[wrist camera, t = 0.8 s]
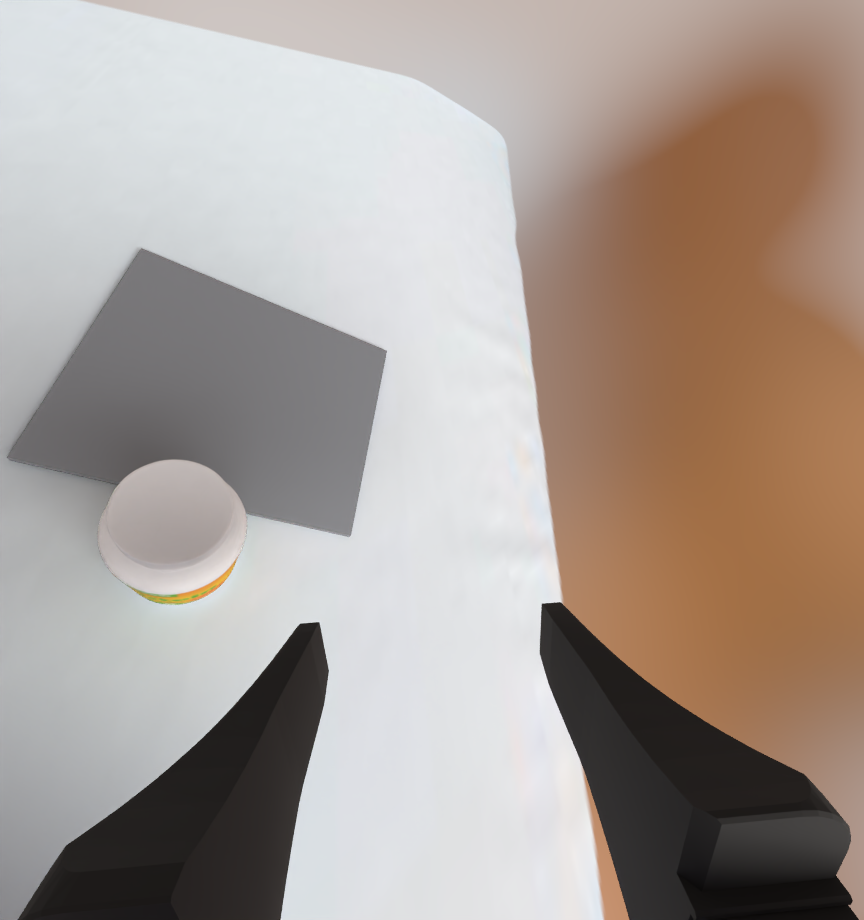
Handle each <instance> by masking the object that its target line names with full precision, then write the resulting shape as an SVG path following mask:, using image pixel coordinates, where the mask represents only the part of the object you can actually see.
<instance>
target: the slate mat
mask: <svg viewBox="0 0 864 920" xmlns="http://www.w3.org/2000/svg"><path fill="white" fill-rule="evenodd" d="M386 353H387V351H385V350H383V349H381V348H378V347H376V346H373V345H371V344H369V343H366V342H364V341H361V340H359V339H357V338H354V337H352V336H350V335H347V334H345V333H342V332H340V331H338V330H335V329H333V328H330V327H328V326H326V325H323V324H321V323H318V322H316V321H314V320H311V319H309V318H306V317H304V316H302V315H299V314H297V313H295V312H292V311H290V310H287V309H285V308H283V307H280V306H278V305H275V304H273V303H271V302H268V301H266V300H263V299H261V298H259V297H256V296H254V295H251V294H249V293H247V292H244V291H242V290H239V289H237V288H235V287H232V286H230V285H228V284H225V283H223V282H220V281H218V280H216V279H213V278H211V277H208V276H206V275H204V274H201V273H199V272H196V271H194V270H192V269H189V268H187V267H184V266H182V265H180V264H177V263H175V262H173V261H170V260H168V259H165V258H163V257H161V256H158V255H156V254H153V253H151V252H149V251H146V250H144V249H141V250H140V251H139V253H138V255H137V256H136V258H135V259H134V261H133V262H132V264H131V265H130V267H129V269H128V270H127V272H126V273H125V275H124V276H123V278H122V279H121V281H120V282H119V284H118V286H117V287H116V289H115V290H114V292H113V293H112V295H111V296H110V298H109V300H108V301H107V303H106V304H105V306H104V307H103V309H102V310H101V312H100V314H99V315H98V317H97V318H96V320H95V321H94V323H93V324H92V326H91V328H90V329H89V331H88V332H87V334H86V335H85V337H84V338H83V340H82V341H81V343H80V345H79V346H78V348H77V349H76V351H75V352H74V354H73V355H72V357H71V359H70V360H69V362H68V363H67V365H66V366H65V368H64V369H63V371H62V373H61V374H60V376H59V377H58V379H57V380H56V382H55V383H54V385H53V387H52V388H51V390H50V391H49V393H48V394H47V396H46V397H45V399H44V400H43V402H42V404H41V405H40V407H39V408H38V410H37V411H36V413H35V414H34V416H33V418H32V419H31V421H30V422H29V424H28V425H27V427H26V428H25V430H24V432H23V433H22V435H21V436H20V438H19V439H18V441H17V442H16V444H15V445H14V447H13V449H12V450H11V452H10V453H9V455H8V456H7V458H8V459H9V460H12V461H16V462H21V463H25V464H29V465H34V466H38V467H43V468H47V469H51V470H56V471H60V472H65V473H69V474H74V475H78V476H82V477H87V478H91V479H96V480H100V481H105V482H109V483H113V484H119V483H120V482H121V481H122V480H123V479H124V478H125V477H126V476H128V475H129V474H130V473H132V472H133V471H135V470H137V469H139V468H140V467H143V466H145V465H147V464H150V463H153V462H157V461H162V460H172V459H176V460H187V461H192V462H196V463H199V464H201V465H204V466H206V467H208V468H210V469H211V470H213V471H214V472H216V473H217V474H218V475H219V476H220V477H221V478H222V479H223V480H224V481H225V482H226V483H227V484H228V485H230V486H231V487H232V488H233V490H234V491H235V492H236V493H237V495H238V496H239V498H240V500H241V501H242V504H243V506H244V509H245V512H246V514H250V515H255V516H259V517H264V518H268V519H272V520H277V521H281V522H286V523H290V524H295V525H299V526H303V527H308V528H312V529H317V530H321V531H326V532H330V533H334V534H339V535H343V536H348V537H349V536H351V532H352V527H353V521H354V516H355V511H356V506H357V501H358V496H359V491H360V486H361V480H362V475H363V470H364V465H365V460H366V455H367V450H368V445H369V440H370V434H371V429H372V424H373V419H374V414H375V409H376V404H377V399H378V393H379V388H380V383H381V378H382V373H383V368H384V363H385V358H386Z"/></svg>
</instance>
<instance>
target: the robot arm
mask: <svg viewBox="0 0 864 920" xmlns="http://www.w3.org/2000/svg"><path fill="white" fill-rule="evenodd" d="M540 655H541V659H542V662H543V666H544V670H545V673H546V676H547V680H548V683H549V686H550V688H551V691H552V693H553V696H554V698H555V701H556V703H557V705H558V708H559V710H560V713H561V715H562V717H563V720H564V722H565V725H566V727H567V729H568V732H569V734H570V737H571V739H572V741H573V744H574V746H575V749H576V751H577V753H578V756H579V758H580V761H581V763H582V766H583V769H584V771H585V774H586V777H587V780H588V783H589V786H590V789H591V793H592V796H593V799H594V802H595V805H596V808H597V811H598V814H599V818H600V821H601V824H602V827H603V831H604V834H605V837H606V841H607V844H608V847H609V850H610V853H611V857H612V860H613V864H614V867H615V871H616V874H617V877H618V881H619V884H620V888H621V891H622V895H623V898H624V902H625V905H626V909H627V912H628V916H629V919H630V920H859V919H858V918H857V917H856V915H855V914H854V912H853V911H852V910H851V908H850V907H849V906H848V905H851V903H852V898H851V895H850V894H849V892H848V891H847V890H846V888H845V887H844V886H843V884H842V883H841V882H840V880H839V879H838V878H837V876H836V874H837V872H838V870H839V868H840V866H841V864H842V862H843V859H844V858H845V856H846V853H847V851H848V849H849V845H850V842H851V834H850V828H849V826H848V824H847V823H846V822H845V821H844V820H843V818H842V817H841V816H840V815H839V813H838V812H837V811H836V810H835V809H834V807H833V806H832V805H831V804H830V803H829V801H828V800H827V799H826V798H825V796H824V795H823V794H822V793H821V792H820V791H819V790H818V789H817V788H816V786H815V785H814V784H813V783H812V782H811V781H810V780H809V779H808V778H807V777H806V776H805V775H804V774H802V773H800V772H798V771H796V770H794V769H792V768H790V767H788V766H786V765H784V764H782V763H780V762H778V761H776V760H774V759H772V758H770V757H768V756H766V755H764V754H762V753H760V752H758V751H756V750H754V749H752V748H751V747H749V746H747V745H745V744H743V743H742V742H740V741H738V740H736V739H734V738H733V737H731V736H729V735H727V734H725V733H724V732H722V731H720V730H719V729H717V728H715V727H714V726H712V725H710V724H709V723H707V722H705V721H703V720H702V719H701V718H699V717H697V716H696V715H694V714H693V713H691V712H689V711H688V710H687V709H685V708H683V707H682V706H680V705H679V704H677V703H676V702H674V701H673V700H672V699H670V698H669V697H667V696H666V695H665V694H663V693H662V692H660V691H659V690H658V689H656V688H655V687H653V686H652V685H651V684H650V683H648V682H647V681H646V680H644V679H643V678H642V677H641V676H639V675H638V674H637V673H636V672H634V671H633V670H632V669H631V668H630V667H628V666H627V665H626V664H625V663H624V662H622V661H621V660H620V659H619V658H618V657H617V656H616V655H615V654H613V653H612V652H611V651H610V650H609V649H608V648H607V647H606V646H605V645H604V644H602V643H601V642H600V641H599V640H598V639H597V638H596V637H595V636H594V635H593V634H592V633H591V632H590V631H589V630H588V629H587V628H586V627H585V626H584V625H583V624H582V623H581V622H580V621H579V620H578V619H577V618H576V617H575V616H574V615H573V614H572V613H571V612H570V611H569V610H568V609H567V608H566V607H565V606H564V605H563V604H562V603H561V602H558V603H546V604H542V611H541V635H540ZM328 673H329V670H328V664H327V659H326V654H325V649H324V644H323V639H322V634H321V628H320V623H319V622H316V623H304V624H300V625H299V626H298V627H297V628H296V629H295V631H294V632H293V633H292V635H291V636H290V637H289V639H288V640H287V641H286V643H285V644H284V645H283V647H282V648H281V649H280V651H279V652H278V653H277V655H276V656H275V657H274V659H273V660H272V661H271V662H270V664H269V665H268V666H267V667H266V669H265V670H264V671H263V672H262V674H261V675H260V676H259V677H258V679H257V680H256V681H255V682H254V683H253V685H252V686H251V687H250V688H249V689H248V690H247V691H246V693H245V694H244V695H243V696H242V697H241V698H240V699H239V701H238V702H237V703H236V704H235V705H234V706H233V707H232V709H231V710H230V711H229V712H228V713H227V714H226V715H225V716H224V717H223V718H222V719H221V720H220V721H219V722H218V723H217V724H216V725H215V726H214V727H213V728H212V729H211V730H210V731H209V732H208V733H207V734H206V735H205V736H204V737H203V738H202V739H201V740H200V741H199V742H198V743H197V744H196V745H195V746H193V747H192V748H191V749H190V750H189V751H188V752H187V753H186V754H185V755H183V756H182V757H181V758H180V759H179V760H178V761H177V762H176V763H174V764H173V765H172V766H171V767H170V768H169V769H168V770H166V771H165V772H164V773H163V774H162V775H160V776H159V777H158V778H157V779H156V780H154V781H153V782H152V783H151V784H149V785H148V786H147V787H146V788H144V789H143V790H142V791H141V792H139V793H138V794H137V795H136V796H134V797H133V798H132V799H130V800H129V801H128V802H127V803H125V804H124V805H123V806H121V807H120V808H119V809H117V810H116V811H115V812H113V813H112V814H110V815H109V816H108V817H106V818H105V819H103V820H102V821H100V822H99V823H98V824H96V825H95V826H93V827H92V828H91V829H89V830H88V831H86V832H85V833H84V834H82V835H81V836H79V837H78V838H77V839H75V840H74V841H72V842H71V843H69V844H68V845H66V847H65V848H64V850H63V851H62V852H61V854H60V855H59V857H58V858H57V860H56V861H55V863H54V864H53V865H52V867H51V868H50V870H49V871H48V873H47V875H46V876H45V878H44V879H43V881H42V882H41V884H40V886H39V887H38V889H37V890H36V892H35V893H34V895H33V897H32V898H31V900H30V901H29V903H28V904H27V906H26V908H25V909H24V911H23V912H22V914H21V915H20V917H19V919H18V920H280V919H281V912H282V905H283V898H284V891H285V884H286V878H287V872H288V866H289V859H290V853H291V847H292V841H293V835H294V829H295V823H296V818H297V812H298V806H299V801H300V796H301V792H302V788H303V783H304V779H305V776H306V772H307V768H308V764H309V760H310V756H311V753H312V749H313V745H314V741H315V737H316V734H317V730H318V726H319V722H320V718H321V714H322V710H323V706H324V701H325V694H326V687H327V680H328Z"/></svg>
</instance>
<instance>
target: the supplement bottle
mask: <svg viewBox="0 0 864 920" xmlns="http://www.w3.org/2000/svg"><path fill="white" fill-rule="evenodd" d="M246 532H247V517H246V512H245V509H244V506H243V504H242V501H241V500H240V498H239V496H238V495H237V493H236V492H235V491H234V490H233V488H232V487H231V486H230V485H228V484H227V483H226V482H225V481H224V480H223V479H222V478H221V477H220V476H219V475H218V474H217V473H216V472H214V471H213V470H211V469H210V468H208V467H206V466H204V465H201V464H199V463H196V462H192V461H187V460H176V459H172V460H162V461H157V462H153V463H150V464H147V465H145V466H143V467H140V468H139V469H137V470H135V471H133V472H132V473H130V474H129V475H128V476H126V477H125V478H124V479H123V480H122V481H121V482H120V483H119V484H118V486H117V487H116V488H115V489H114V491H113V493H112V495H111V497H110V499H109V502H108V504H107V506H106V508H105V509H104V511H103V513H102V516H101V519H100V522H99V526H98V536H97V538H98V546H99V550H100V554H101V556H102V558H103V560H104V562H105V564H106V566H107V567H108V569H109V570H110V571H111V572H112V574H113V575H114V576H115V577H117V578H118V579H119V580H120V581H122V582H123V583H125V584H126V585H127V586H128V587H130V588H131V589H133V590H134V591H135V592H137V593H138V594H139V595H141V596H142V597H144V598H146V599H148V600H150V601H153V602H156V603H160V604H167V605H179V604H186V603H191V602H194V601H197V600H199V599H202V598H204V597H206V596H208V595H209V594H211V593H212V592H214V591H215V590H216V589H217V588H219V587H220V586H221V585H222V584H223V583H224V581H225V580H226V579H227V578H228V576H229V575H230V573H231V571H232V570H233V567H234V565H235V563H236V560H237V558H238V556H239V554H240V552H241V549H242V547H243V544H244V541H245V537H246Z"/></svg>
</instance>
